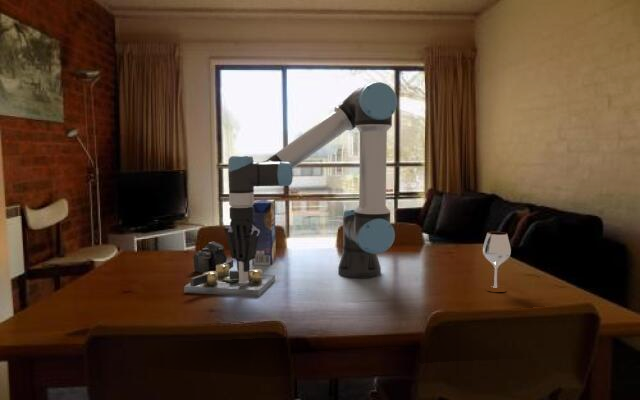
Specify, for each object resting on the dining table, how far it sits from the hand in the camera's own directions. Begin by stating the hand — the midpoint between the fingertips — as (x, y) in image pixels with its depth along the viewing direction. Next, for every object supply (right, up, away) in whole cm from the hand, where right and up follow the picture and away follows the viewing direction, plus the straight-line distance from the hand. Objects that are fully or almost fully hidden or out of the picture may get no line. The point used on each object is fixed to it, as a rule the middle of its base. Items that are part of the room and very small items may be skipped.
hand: (243, 281), depth 150 cm
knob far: (-8, +1, +14) cm, 16 cm away
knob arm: (0, 0, +4) cm, 4 cm away
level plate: (-5, -3, +6) cm, 8 cm away
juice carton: (+2, +1, +41) cm, 41 cm away
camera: (-16, -1, +29) cm, 33 cm away
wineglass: (+79, -3, 0) cm, 79 cm away
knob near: (-12, -1, -1) cm, 12 cm away
